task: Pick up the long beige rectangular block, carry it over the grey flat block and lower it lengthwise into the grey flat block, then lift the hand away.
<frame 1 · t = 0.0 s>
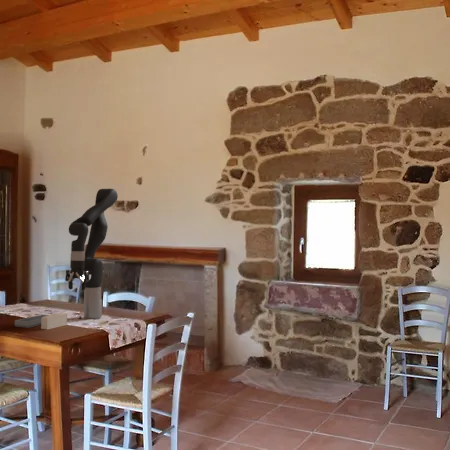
hand: (76, 289, 286), 17 cm above the table, tool pointing down, fingers open, 8 cm apart
grey flat block: (35, 323, 278), on the table
beige rectangular block: (54, 326, 271), on the table
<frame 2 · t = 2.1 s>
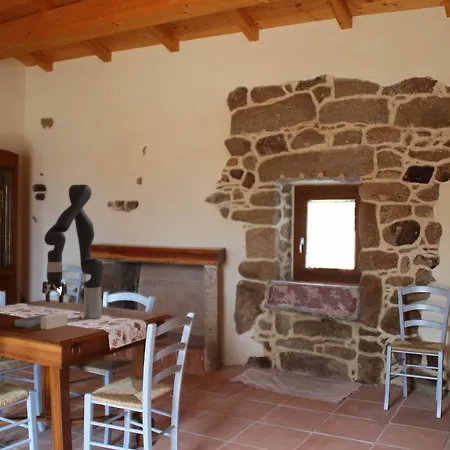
hand: (54, 302, 271), 12 cm above the table, tool pointing down, fingers open, 8 cm apart
nothing on the table moved.
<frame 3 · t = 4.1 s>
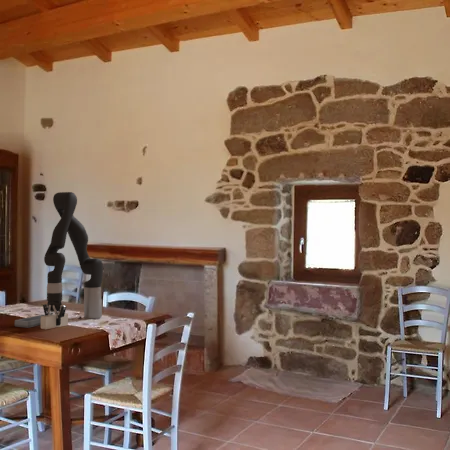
hand: (54, 324, 271), 1 cm above the table, tool pointing down, fingers closed on beige rectangular block, 4 cm apart
beige rectangular block: (54, 326, 271), on the table, touching gripper
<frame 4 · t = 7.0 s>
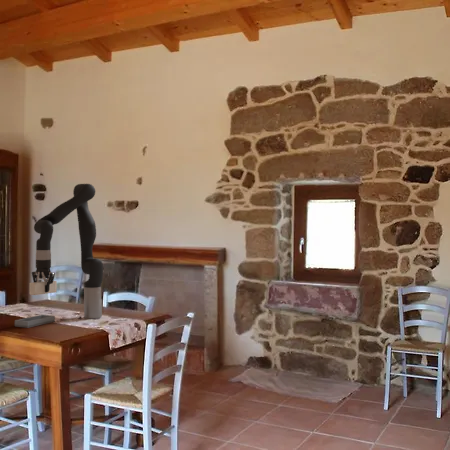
hand: (43, 291, 275), 17 cm above the table, tool pointing down, fingers closed on beige rectangular block, 4 cm apart
beige rectangular block: (43, 293, 275), point 16 cm above the table, touching gripper
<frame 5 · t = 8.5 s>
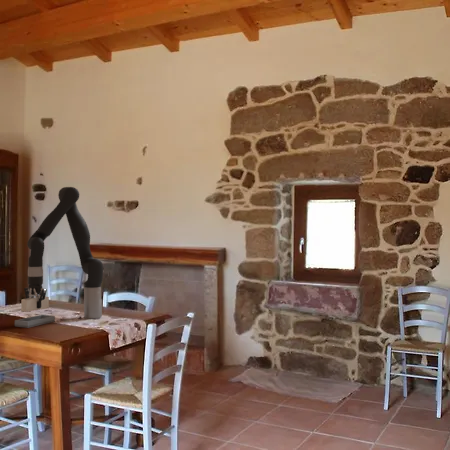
hand: (35, 307, 278), 8 cm above the table, tool pointing down, fingers closed on beige rectangular block, 4 cm apart
beige rectangular block: (35, 309, 278), point 8 cm above the table, touching gripper
when the fingers open (4 cm above the table, at t = 9.9 s): beige rectangular block drops 2 cm, resting on grey flat block.
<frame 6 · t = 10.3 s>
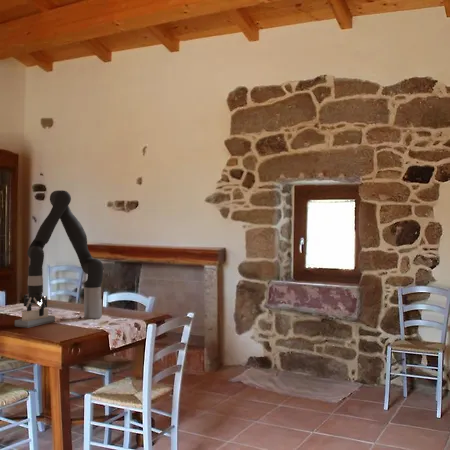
hand: (35, 315, 278), 5 cm above the table, tool pointing down, fingers open, 8 cm apart
beige rectangular block: (35, 321, 278), point 1 cm above the table, touching grey flat block
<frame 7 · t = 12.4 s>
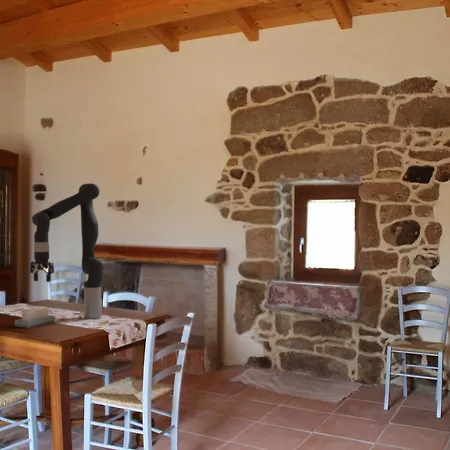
hand: (42, 281, 279), 22 cm above the table, tool pointing down, fingers open, 8 cm apart
nothing on the table moved.
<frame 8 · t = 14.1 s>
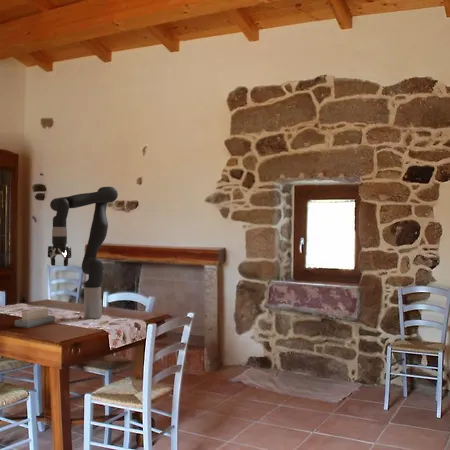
hand: (59, 265, 282), 30 cm above the table, tool pointing down, fingers open, 8 cm apart
nothing on the table moved.
at the end: beige rectangular block 0.0 cm off-centre on the grey flat block, point 1.0 cm above the grey flat block's base; beige rectangular block tilted 0°; the gripper is holding nothing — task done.
